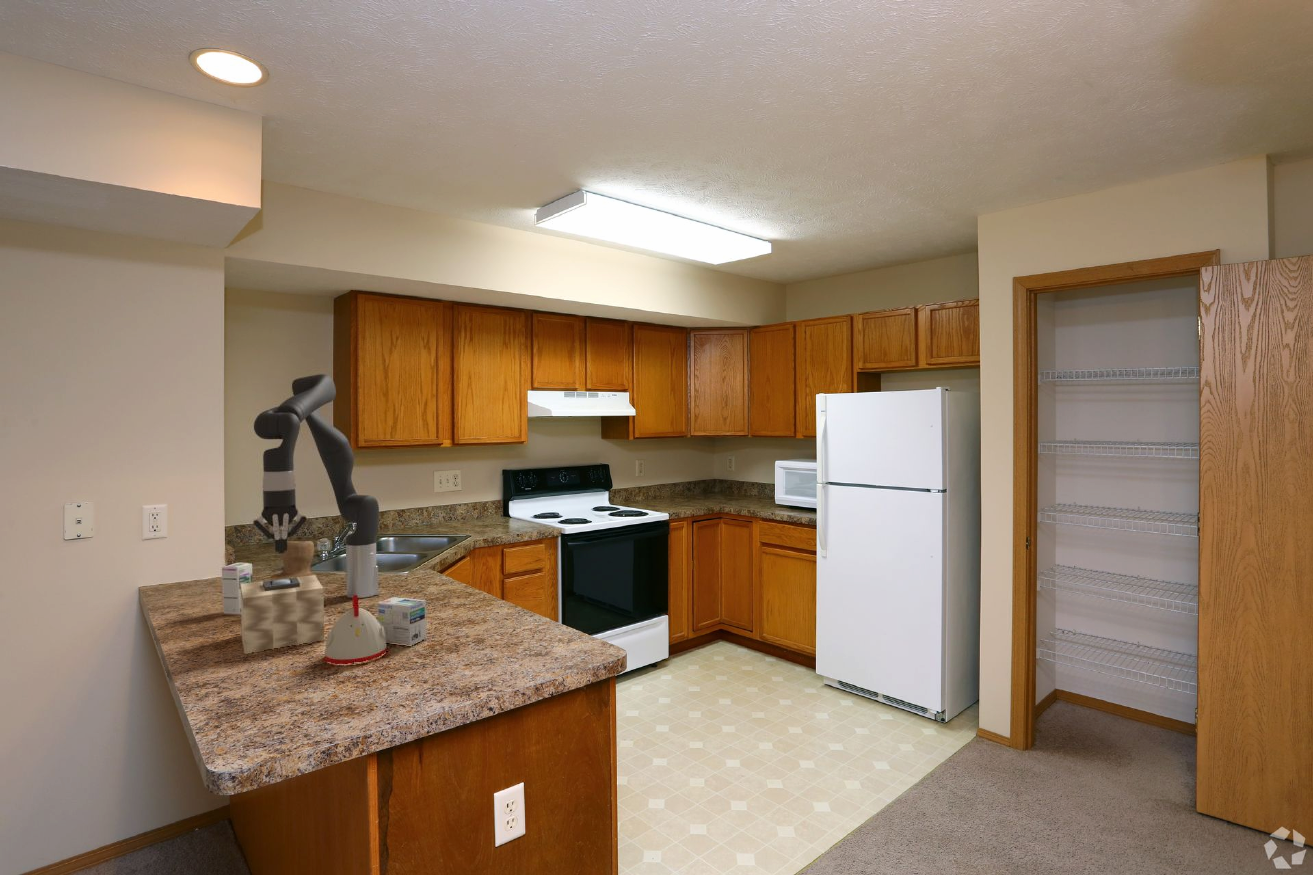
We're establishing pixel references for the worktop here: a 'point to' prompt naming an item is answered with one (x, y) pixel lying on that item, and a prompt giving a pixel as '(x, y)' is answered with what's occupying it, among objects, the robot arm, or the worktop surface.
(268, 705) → the worktop surface
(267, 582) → the rubber collar
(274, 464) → the robot arm
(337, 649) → the kitchen timer
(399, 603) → the light bulb box
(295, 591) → the birch block
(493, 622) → the worktop surface
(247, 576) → the syrup box
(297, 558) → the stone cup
